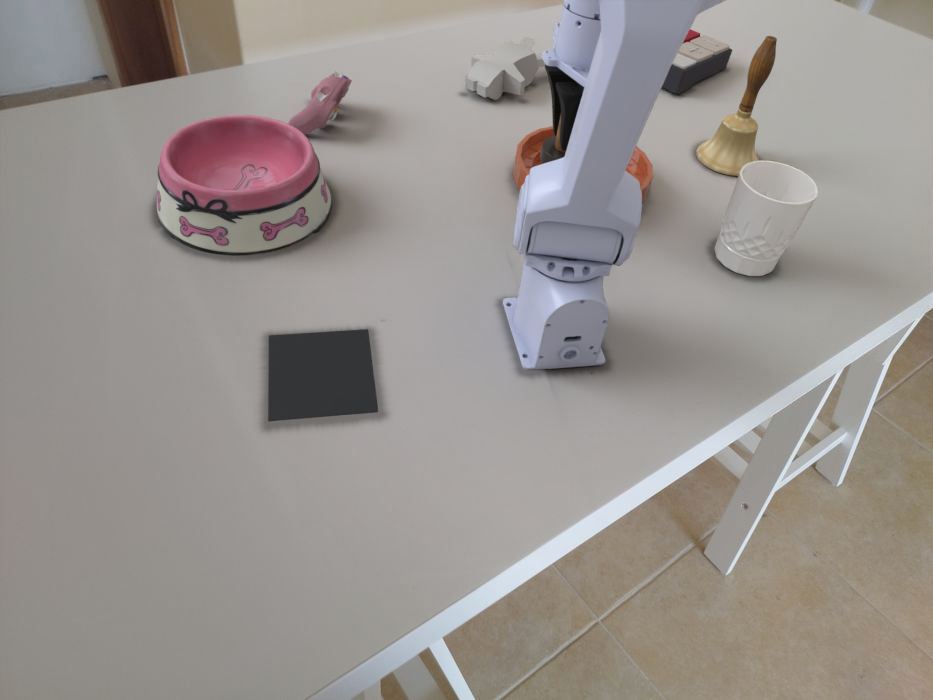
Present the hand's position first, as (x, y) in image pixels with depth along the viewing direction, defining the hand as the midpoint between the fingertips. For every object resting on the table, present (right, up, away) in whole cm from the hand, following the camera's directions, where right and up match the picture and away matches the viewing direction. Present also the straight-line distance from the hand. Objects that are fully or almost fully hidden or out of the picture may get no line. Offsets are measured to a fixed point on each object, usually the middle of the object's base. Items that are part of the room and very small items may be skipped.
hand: (567, 141), depth 76 cm
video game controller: (-29, +8, +19) cm, 35 cm away
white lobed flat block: (-4, +17, +30) cm, 35 cm away
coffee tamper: (0, -2, +2) cm, 2 cm away
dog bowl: (-35, -6, +5) cm, 35 cm away
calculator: (+22, +24, +37) cm, 49 cm away
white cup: (+21, -11, +6) cm, 24 cm away
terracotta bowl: (+3, -2, +13) cm, 14 cm away
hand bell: (+24, +3, +21) cm, 32 cm away
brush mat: (-23, -24, -12) cm, 35 cm away
